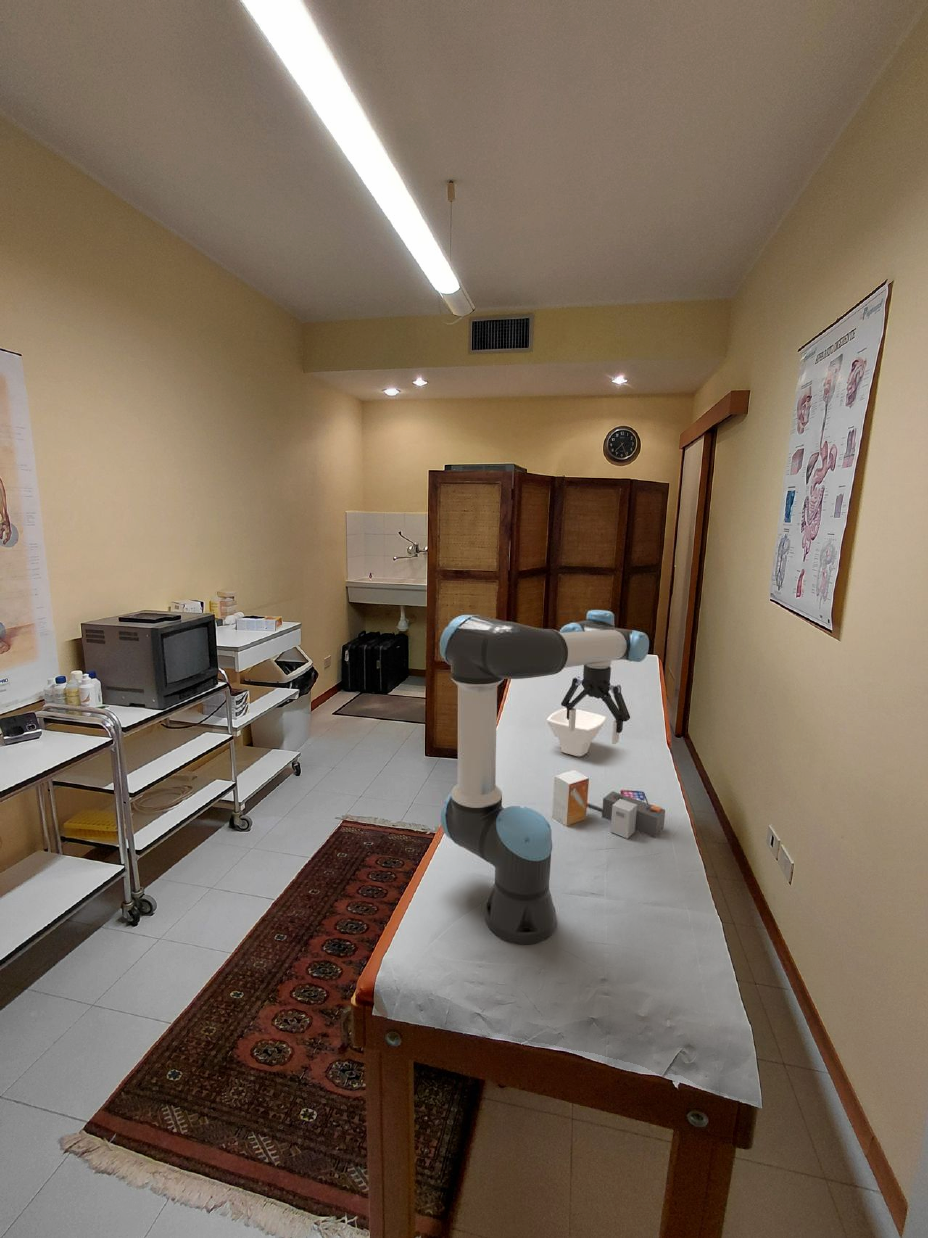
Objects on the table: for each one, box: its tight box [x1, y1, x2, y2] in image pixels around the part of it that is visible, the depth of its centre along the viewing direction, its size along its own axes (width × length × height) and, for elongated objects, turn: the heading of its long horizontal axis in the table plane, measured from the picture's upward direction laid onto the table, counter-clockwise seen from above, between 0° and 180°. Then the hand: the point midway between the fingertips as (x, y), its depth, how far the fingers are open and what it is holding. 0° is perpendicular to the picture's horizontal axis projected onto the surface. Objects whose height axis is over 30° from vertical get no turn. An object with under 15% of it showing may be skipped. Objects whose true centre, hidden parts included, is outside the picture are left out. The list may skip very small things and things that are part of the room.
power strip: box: [587, 790, 666, 839], centre depth 159 cm, size 6×24×7 cm, turn 50°
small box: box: [551, 769, 590, 827], centre depth 158 cm, size 8×6×13 cm
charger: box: [609, 799, 637, 839], centre depth 152 cm, size 9×5×8 cm, turn 139°
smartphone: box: [620, 789, 649, 804], centre depth 168 cm, size 8×1×15 cm
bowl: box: [546, 707, 607, 757], centre depth 204 cm, size 19×19×14 cm
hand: (592, 736), depth 156 cm, fingers open, 13 cm apart
